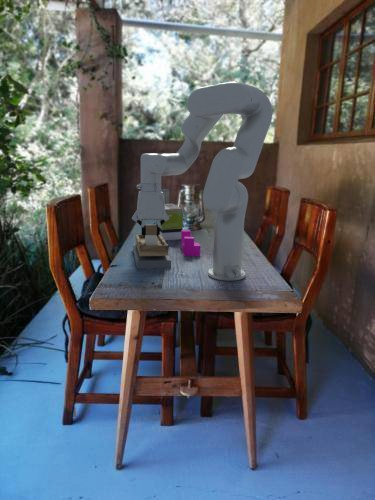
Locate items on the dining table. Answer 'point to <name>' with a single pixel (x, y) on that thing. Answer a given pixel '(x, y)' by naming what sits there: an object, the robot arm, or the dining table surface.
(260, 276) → the dining table surface
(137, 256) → the block
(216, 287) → the dining table surface
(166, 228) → the tea box
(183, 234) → the toy block
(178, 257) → the dining table surface
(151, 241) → the grey box
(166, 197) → the grey hollow cube
